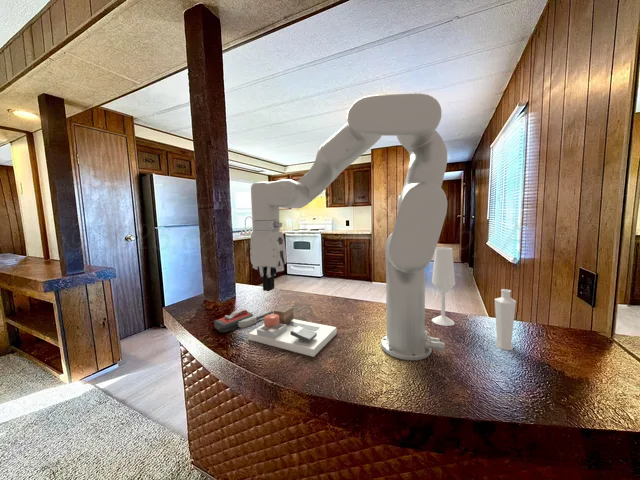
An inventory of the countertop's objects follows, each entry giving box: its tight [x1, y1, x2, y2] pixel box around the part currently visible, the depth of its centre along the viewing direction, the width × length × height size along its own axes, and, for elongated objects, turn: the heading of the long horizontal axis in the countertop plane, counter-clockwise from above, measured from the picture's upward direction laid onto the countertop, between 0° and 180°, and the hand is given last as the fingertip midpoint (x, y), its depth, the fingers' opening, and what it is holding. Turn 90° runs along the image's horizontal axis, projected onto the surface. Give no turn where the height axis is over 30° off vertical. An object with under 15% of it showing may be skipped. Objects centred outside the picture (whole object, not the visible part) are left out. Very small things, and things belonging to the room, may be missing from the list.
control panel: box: [248, 318, 338, 357], centre depth 75 cm, size 22×14×4 cm, turn 62°
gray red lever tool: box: [213, 308, 274, 333], centre depth 88 cm, size 9×4×20 cm
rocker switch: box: [290, 326, 317, 342], centre depth 69 cm, size 6×4×1 cm, turn 62°
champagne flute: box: [431, 246, 456, 327], centre depth 81 cm, size 7×7×24 cm
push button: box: [263, 313, 279, 327], centre depth 74 cm, size 4×4×2 cm
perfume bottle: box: [494, 288, 517, 351], centre depth 65 cm, size 5×4×15 cm
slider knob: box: [273, 305, 295, 324], centre depth 81 cm, size 4×5×4 cm
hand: (268, 289), depth 74 cm, fingers closed
